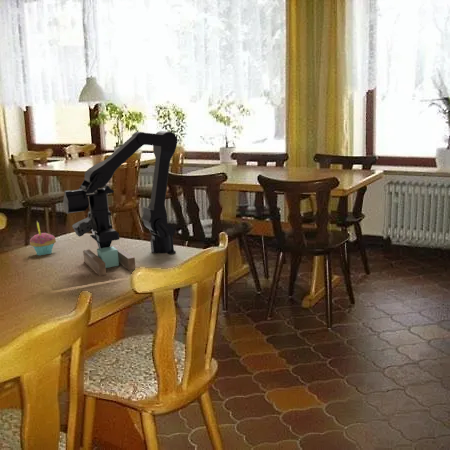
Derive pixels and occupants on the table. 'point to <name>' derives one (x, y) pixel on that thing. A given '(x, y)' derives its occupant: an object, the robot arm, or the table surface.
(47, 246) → the cupcake
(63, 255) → the table surface
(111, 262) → the teal block
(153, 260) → the table surface
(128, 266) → the chute
